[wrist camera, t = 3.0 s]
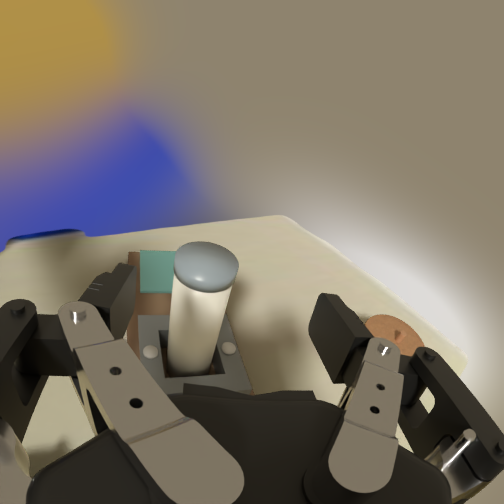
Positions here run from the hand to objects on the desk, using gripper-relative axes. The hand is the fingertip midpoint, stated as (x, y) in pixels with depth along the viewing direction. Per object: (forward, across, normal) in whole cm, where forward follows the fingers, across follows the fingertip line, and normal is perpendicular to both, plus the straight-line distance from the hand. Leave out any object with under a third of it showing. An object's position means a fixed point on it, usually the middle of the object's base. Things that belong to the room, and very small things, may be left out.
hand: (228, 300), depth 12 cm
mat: (+32, -5, -14) cm, 35 cm away
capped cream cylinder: (+15, -1, -18) cm, 24 cm away
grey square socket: (+15, -1, -18) cm, 24 cm away
